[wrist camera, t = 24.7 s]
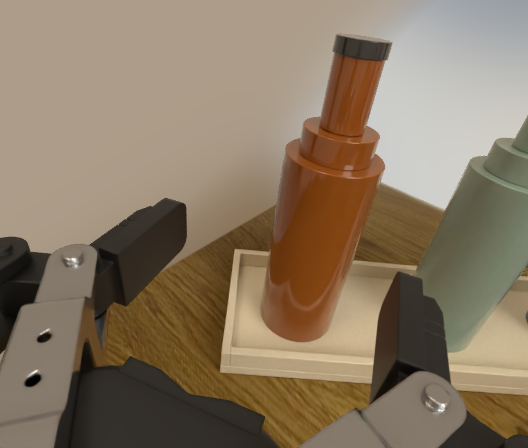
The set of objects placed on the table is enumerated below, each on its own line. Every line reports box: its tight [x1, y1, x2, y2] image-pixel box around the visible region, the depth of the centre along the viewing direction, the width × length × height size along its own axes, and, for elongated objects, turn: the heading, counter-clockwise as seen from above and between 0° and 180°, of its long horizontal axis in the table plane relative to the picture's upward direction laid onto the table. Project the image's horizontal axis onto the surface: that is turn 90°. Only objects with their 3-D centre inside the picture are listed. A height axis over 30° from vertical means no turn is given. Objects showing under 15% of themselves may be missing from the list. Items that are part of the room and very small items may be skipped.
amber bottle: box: [260, 34, 392, 342], centre depth 22 cm, size 6×6×20 cm
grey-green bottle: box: [413, 116, 528, 353], centre depth 23 cm, size 6×6×20 cm
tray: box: [220, 249, 528, 395], centre depth 28 cm, size 35×11×2 cm, turn 90°
